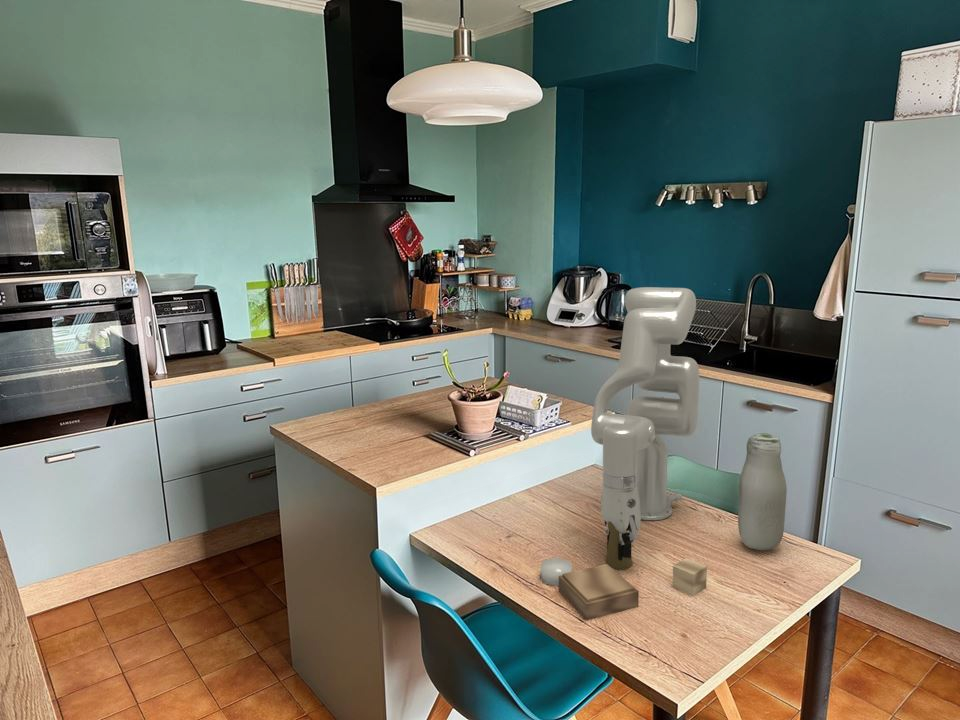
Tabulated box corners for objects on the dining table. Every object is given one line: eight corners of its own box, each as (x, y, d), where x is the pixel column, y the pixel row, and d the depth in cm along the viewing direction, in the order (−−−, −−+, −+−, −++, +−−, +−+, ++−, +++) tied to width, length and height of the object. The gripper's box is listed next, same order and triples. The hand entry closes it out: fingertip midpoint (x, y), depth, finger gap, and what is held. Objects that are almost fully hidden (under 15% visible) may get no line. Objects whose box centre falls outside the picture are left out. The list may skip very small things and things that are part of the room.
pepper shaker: (627, 572, 154) (627, 526, 151) (601, 565, 157) (601, 520, 155) (636, 560, 159) (636, 516, 156) (611, 554, 162) (611, 510, 160)
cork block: (685, 579, 150) (686, 558, 149) (706, 587, 146) (706, 566, 145) (672, 587, 147) (672, 565, 146) (693, 596, 143) (693, 574, 142)
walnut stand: (607, 578, 151) (607, 561, 150) (638, 606, 140) (638, 588, 139) (558, 590, 147) (558, 573, 146) (586, 620, 136) (586, 601, 135)
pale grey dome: (563, 567, 157) (563, 555, 156) (578, 582, 150) (578, 570, 150) (535, 574, 154) (535, 562, 154) (549, 589, 148) (549, 576, 147)
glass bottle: (766, 535, 168) (772, 426, 163) (790, 555, 159) (798, 439, 153) (728, 539, 167) (733, 429, 161) (750, 559, 157) (756, 443, 151)
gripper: (655, 489, 147) (654, 567, 151) (614, 464, 162) (613, 536, 166) (625, 495, 145) (624, 575, 148) (586, 469, 160) (586, 542, 164)
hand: (619, 553), depth 157 cm, fingers closed on pepper shaker, 3 cm apart
